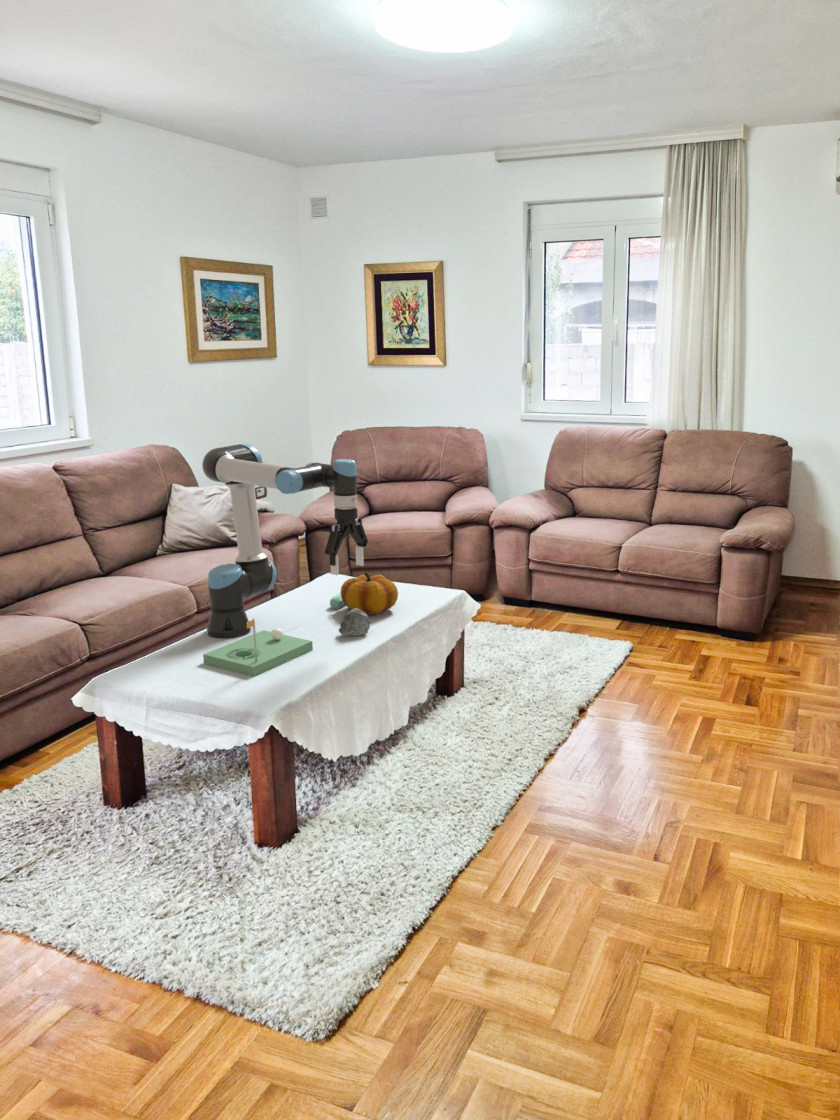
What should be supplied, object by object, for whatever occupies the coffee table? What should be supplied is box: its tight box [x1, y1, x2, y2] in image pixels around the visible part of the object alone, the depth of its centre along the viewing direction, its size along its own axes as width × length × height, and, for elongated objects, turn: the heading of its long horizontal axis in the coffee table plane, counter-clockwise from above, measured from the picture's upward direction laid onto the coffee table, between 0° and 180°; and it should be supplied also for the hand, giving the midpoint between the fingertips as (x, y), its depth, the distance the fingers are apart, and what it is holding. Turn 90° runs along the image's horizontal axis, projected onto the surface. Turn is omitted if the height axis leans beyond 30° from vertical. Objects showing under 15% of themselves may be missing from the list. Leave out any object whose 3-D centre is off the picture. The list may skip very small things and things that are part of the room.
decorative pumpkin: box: [339, 571, 399, 615], centre depth 345 cm, size 20×22×15 cm
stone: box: [338, 608, 370, 637], centre depth 320 cm, size 10×10×10 cm
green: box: [202, 618, 314, 677], centre depth 298 cm, size 28×22×17 cm
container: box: [329, 592, 346, 610], centre depth 359 cm, size 6×6×25 cm
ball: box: [270, 627, 284, 640], centre depth 306 cm, size 4×4×4 cm
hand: (347, 569), depth 304 cm, fingers open, 13 cm apart
